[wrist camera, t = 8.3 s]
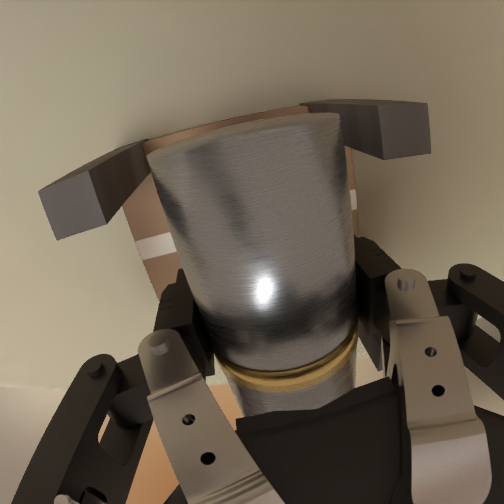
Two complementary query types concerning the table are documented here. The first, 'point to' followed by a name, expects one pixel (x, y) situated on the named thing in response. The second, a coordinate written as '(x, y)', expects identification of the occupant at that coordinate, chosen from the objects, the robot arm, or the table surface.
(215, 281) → the grey cylinder
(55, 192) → the cylinder holder stand
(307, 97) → the table surface
